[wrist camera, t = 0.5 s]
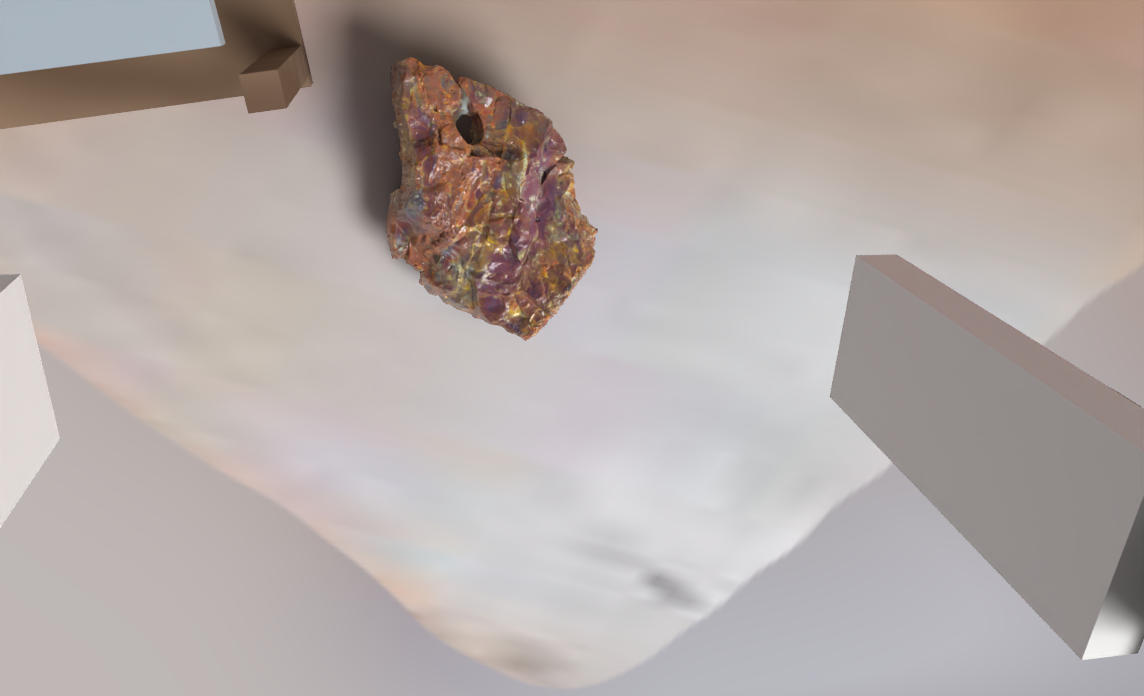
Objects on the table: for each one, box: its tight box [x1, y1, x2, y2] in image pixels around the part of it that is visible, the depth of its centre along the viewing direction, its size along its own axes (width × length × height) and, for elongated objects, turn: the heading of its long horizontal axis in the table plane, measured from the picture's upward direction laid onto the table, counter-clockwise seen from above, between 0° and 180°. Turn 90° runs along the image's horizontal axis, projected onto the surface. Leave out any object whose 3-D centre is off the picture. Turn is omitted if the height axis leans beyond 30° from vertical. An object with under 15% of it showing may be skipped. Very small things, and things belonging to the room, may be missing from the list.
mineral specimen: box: [386, 57, 598, 341], centre depth 37 cm, size 12×8×7 cm
